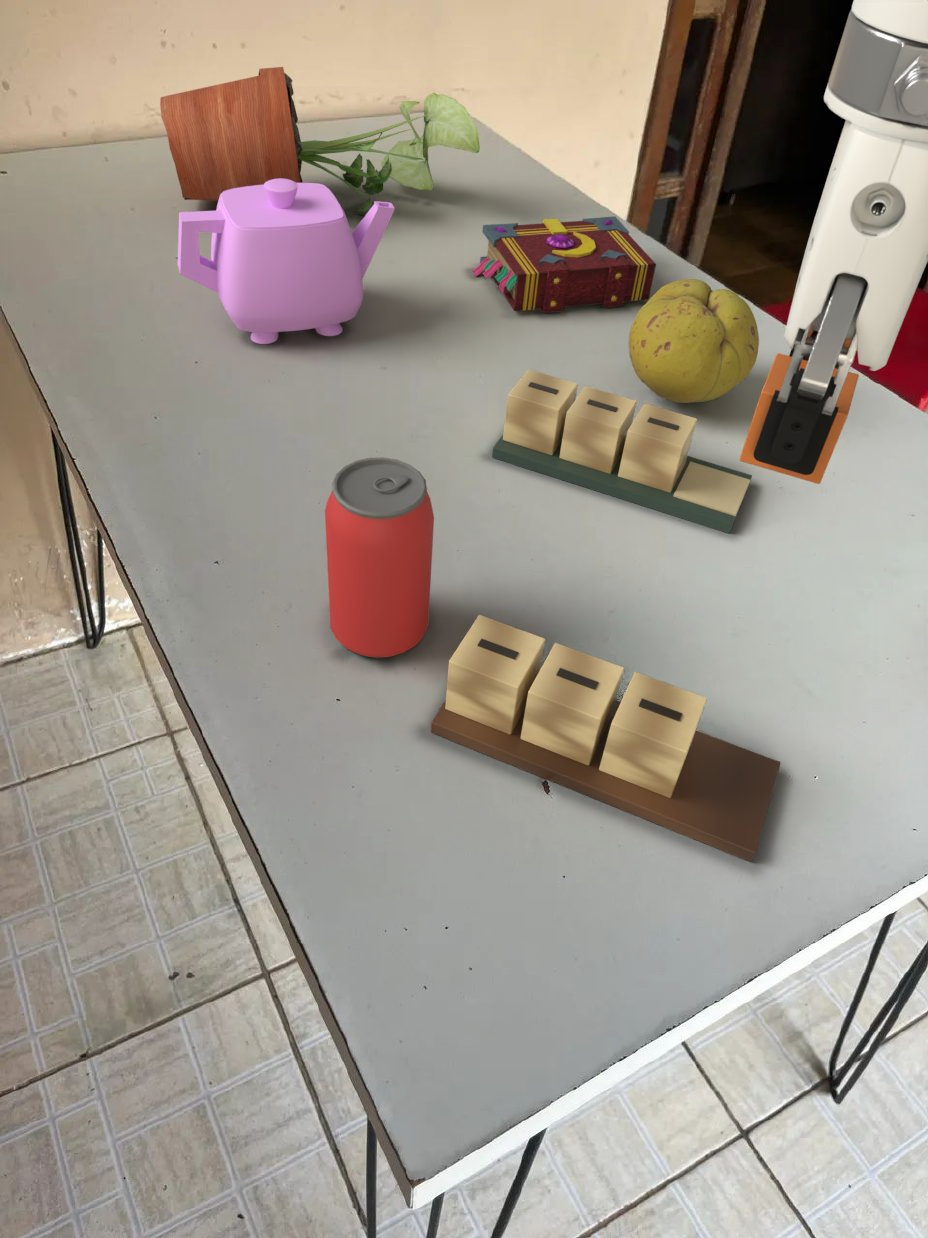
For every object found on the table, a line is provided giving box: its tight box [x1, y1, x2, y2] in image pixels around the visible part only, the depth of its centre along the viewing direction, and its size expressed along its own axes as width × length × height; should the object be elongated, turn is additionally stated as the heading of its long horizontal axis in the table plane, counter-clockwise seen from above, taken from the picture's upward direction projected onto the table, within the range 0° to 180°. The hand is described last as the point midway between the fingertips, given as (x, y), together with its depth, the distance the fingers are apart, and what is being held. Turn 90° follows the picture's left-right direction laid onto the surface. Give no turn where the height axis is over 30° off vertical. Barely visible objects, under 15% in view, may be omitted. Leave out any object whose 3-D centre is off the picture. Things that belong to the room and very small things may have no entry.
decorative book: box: [471, 215, 657, 314], centre depth 101 cm, size 11×16×5 cm
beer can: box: [324, 457, 435, 659], centre depth 62 cm, size 7×7×12 cm
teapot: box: [177, 178, 395, 345], centre depth 90 cm, size 20×12×13 cm, turn 110°
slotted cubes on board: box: [430, 614, 782, 862], centre depth 58 cm, size 20×7×6 cm, turn 65°
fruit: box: [628, 278, 760, 404], centre depth 85 cm, size 11×12×10 cm
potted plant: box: [159, 66, 481, 216], centre depth 109 cm, size 16×15×35 cm
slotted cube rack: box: [491, 369, 753, 534], centre depth 78 cm, size 20×7×6 cm, turn 65°
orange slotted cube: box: [739, 352, 859, 485], centre depth 52 cm, size 4×4×4 cm
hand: (791, 437), depth 53 cm, fingers closed on orange slotted cube, 4 cm apart
